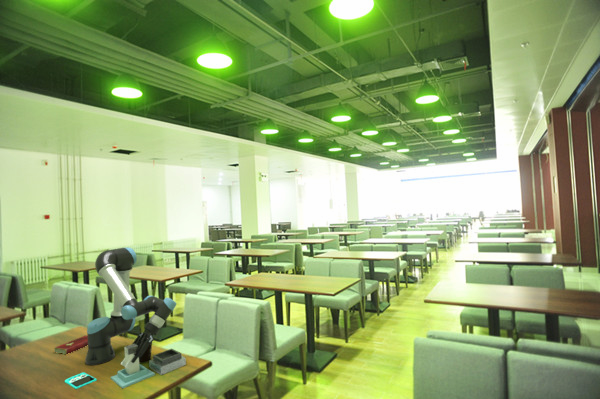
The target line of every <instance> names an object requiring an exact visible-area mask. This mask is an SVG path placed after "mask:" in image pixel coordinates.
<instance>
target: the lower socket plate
mask: <svg viewBox="0 0 600 399" xmlns="http://www.w3.org/2000/svg"><path fill="white" fill-rule="evenodd" d="M139 368H140V371H138V372H135V373H133V374H128V373H127V372H126V368H125V367H124V368H122V369H120V370H117V374H115V375H112V376H110V380H111V381H112V382H114V383H115V384H116V385H117V386H119V387H120V388H121V389H125V388H127V387H130V386H131V385H134V384H137V383H139V382H143V381H144V380H147V379H149V378H152V377H154V376H156V372H155V371H153V370H152V369H150V368H147V366H145V365H143V364H142V363H139Z"/></svg>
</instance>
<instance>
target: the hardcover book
mask: <svg viewBox="0 0 600 399" xmlns="http://www.w3.org/2000/svg"><path fill="white" fill-rule="evenodd" d="M87 345H88V336H87V335H86V334H85V335H83V336H80V337H77V338H75V339H73V340H69V341H67V342H65V343H63V344H59V345H57V346H55V347H53V349H54V353H55V352H57V353H56V354H58V353H63V354H62V355H64V354H68V353H70V354H72V353H74V352H73V351H75V352H77V351H79V350H78V349H80V348H82V349H84V348H86V347H85V346H87ZM83 347H84V348H83ZM87 347H88V346H87ZM76 350H77V351H76ZM80 350H81V349H80ZM71 352H72V353H71ZM68 355H69V354H68Z"/></svg>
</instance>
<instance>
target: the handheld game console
mask: <svg viewBox="0 0 600 399" xmlns="http://www.w3.org/2000/svg"><path fill="white" fill-rule="evenodd" d="M97 380H98V378H96V377H94V376H92V375H90V374H88V373H86V372H84V371H83V372H80V373H78V374H76V375H72V376H70V377H69V378H66V379H65V380H64V383H65V384H67V385H68V386H70V387H72V388H73V389H75V390H78V389H80V388H82V387H85V386H87V385H90V384H92V383H95V382H96V381H97Z"/></svg>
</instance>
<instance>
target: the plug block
mask: <svg viewBox="0 0 600 399" xmlns="http://www.w3.org/2000/svg"><path fill="white" fill-rule="evenodd" d="M123 348H124V358H125V366H126V364H127V363H128V362H129V360H130V359H131V357H132V356H133V355H134V353H136V351H137V349H138V345H136V344H132V343H131V344H129V345H126V346H124V347H123ZM139 364H140V362H139V357H138V358H137V359H136V361H135V362H134V364H133V365H132V367H131V368H130V370H129V369H127V368H126V372H127V373H128V374H133V373H135V372H138V371H140V368H139ZM125 366H124V367H125Z"/></svg>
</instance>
